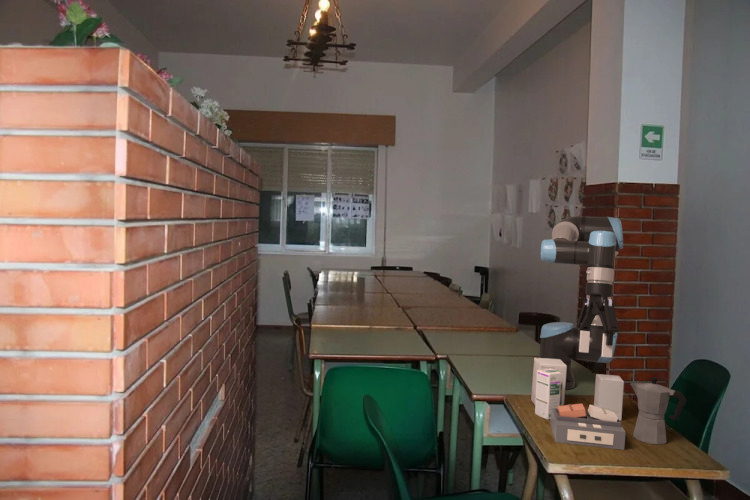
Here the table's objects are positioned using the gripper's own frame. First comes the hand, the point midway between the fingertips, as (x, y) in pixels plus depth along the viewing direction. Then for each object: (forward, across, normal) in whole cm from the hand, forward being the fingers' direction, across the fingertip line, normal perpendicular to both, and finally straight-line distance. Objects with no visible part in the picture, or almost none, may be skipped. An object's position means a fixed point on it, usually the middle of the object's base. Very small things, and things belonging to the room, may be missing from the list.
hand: (594, 354), depth 170 cm
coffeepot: (+22, +4, +17) cm, 29 cm away
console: (+23, +2, -2) cm, 24 cm away
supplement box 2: (+20, -15, +14) cm, 28 cm away
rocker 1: (+17, +2, -7) cm, 18 cm away
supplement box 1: (+20, -25, -2) cm, 32 cm away
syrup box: (+22, -15, -6) cm, 27 cm away
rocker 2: (+16, +4, +1) cm, 17 cm away
